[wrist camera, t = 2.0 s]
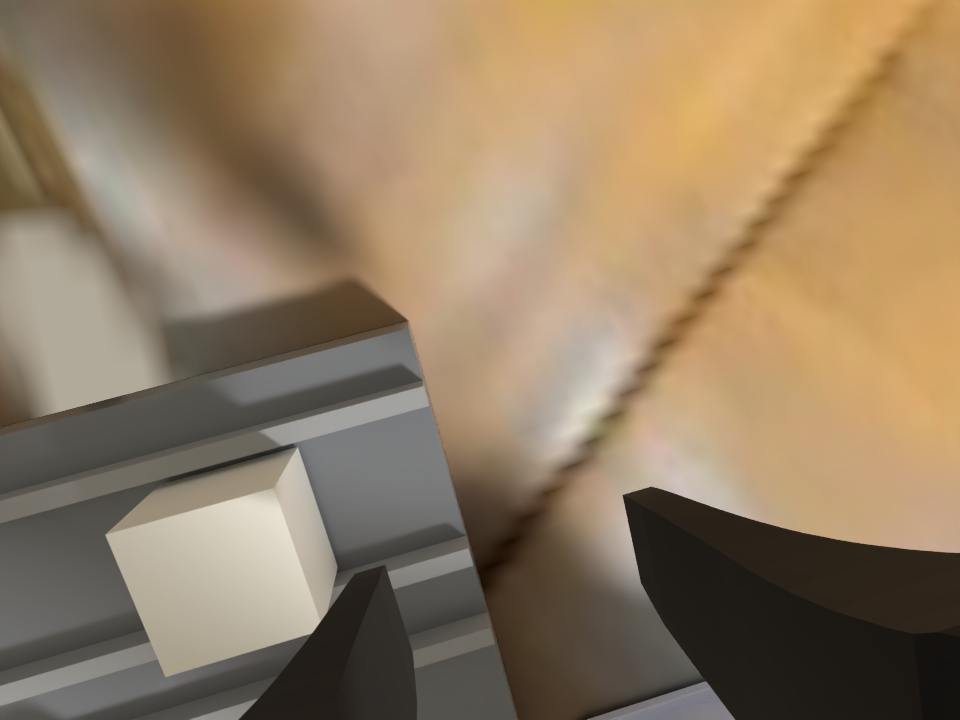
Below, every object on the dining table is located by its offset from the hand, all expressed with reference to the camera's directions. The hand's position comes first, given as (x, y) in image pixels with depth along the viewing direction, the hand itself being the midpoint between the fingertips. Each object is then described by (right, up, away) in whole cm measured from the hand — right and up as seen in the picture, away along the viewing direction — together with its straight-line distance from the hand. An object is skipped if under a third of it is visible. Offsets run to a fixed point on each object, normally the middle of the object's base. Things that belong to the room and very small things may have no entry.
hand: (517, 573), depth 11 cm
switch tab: (-8, -1, +6) cm, 9 cm away
